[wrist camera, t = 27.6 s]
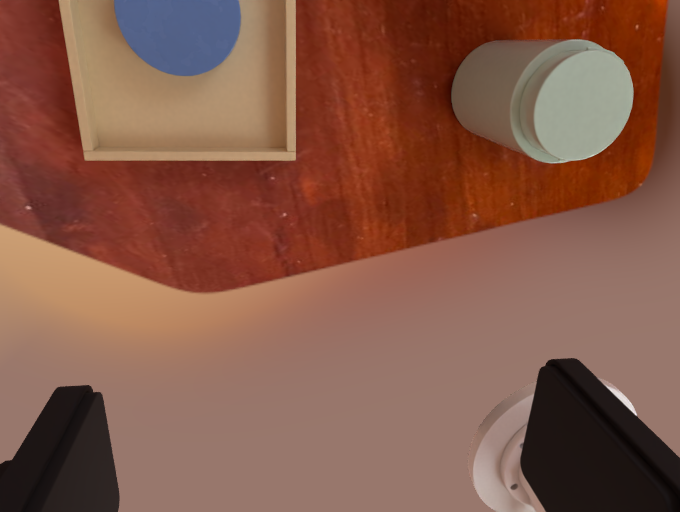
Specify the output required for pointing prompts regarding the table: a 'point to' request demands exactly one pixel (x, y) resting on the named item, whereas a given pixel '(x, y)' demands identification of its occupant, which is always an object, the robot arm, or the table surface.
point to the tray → (184, 91)
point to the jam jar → (544, 97)
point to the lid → (180, 32)
